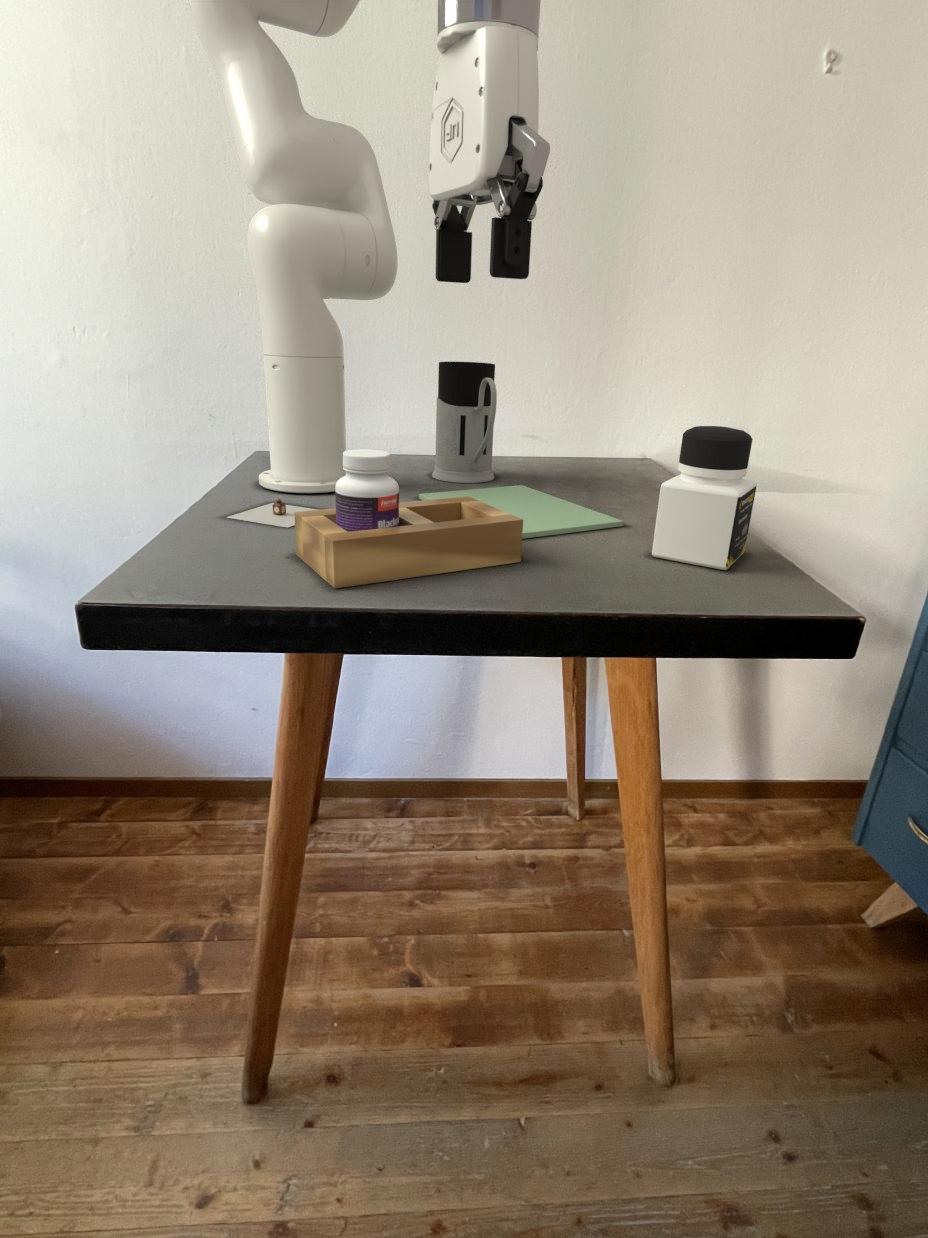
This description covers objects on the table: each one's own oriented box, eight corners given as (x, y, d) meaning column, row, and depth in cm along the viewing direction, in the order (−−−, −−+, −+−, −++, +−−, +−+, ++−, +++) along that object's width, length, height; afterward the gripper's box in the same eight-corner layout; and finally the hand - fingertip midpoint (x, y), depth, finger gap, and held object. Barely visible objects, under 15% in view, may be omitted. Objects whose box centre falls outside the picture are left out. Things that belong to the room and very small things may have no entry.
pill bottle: (388, 576, 62) (388, 459, 58) (328, 570, 63) (323, 455, 59) (406, 558, 67) (406, 449, 63) (349, 552, 68) (347, 445, 64)
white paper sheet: (331, 511, 82) (330, 494, 81) (287, 527, 75) (286, 509, 75) (272, 502, 85) (271, 486, 84) (225, 517, 78) (223, 499, 77)
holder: (296, 555, 67) (294, 511, 65) (467, 534, 75) (468, 496, 74) (334, 589, 59) (332, 540, 57) (520, 562, 67) (523, 519, 66)
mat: (418, 498, 89) (418, 493, 89) (521, 489, 96) (522, 484, 96) (507, 540, 73) (507, 535, 73) (623, 526, 80) (623, 520, 80)
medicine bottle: (726, 571, 66) (750, 436, 62) (650, 557, 70) (667, 427, 65) (744, 553, 72) (767, 427, 68) (673, 540, 76) (690, 420, 71)
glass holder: (480, 469, 108) (485, 361, 103) (520, 489, 96) (528, 368, 91) (423, 471, 105) (425, 360, 100) (458, 492, 93) (461, 367, 88)
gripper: (396, 49, 60) (397, 281, 66) (502, -32, 46) (489, 273, 52) (478, 66, 63) (471, 285, 70) (600, -5, 49) (577, 279, 55)
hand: (479, 279), depth 61 cm, fingers open, 9 cm apart
